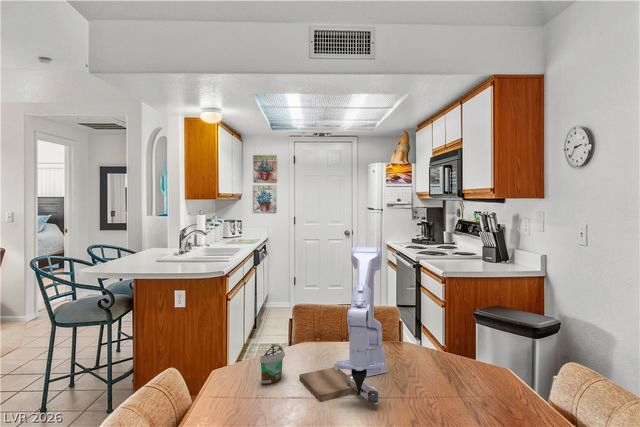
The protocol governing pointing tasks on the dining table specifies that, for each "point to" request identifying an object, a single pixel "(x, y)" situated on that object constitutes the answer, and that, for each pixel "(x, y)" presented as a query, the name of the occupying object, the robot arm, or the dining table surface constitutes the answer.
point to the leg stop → (374, 390)
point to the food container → (272, 365)
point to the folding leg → (363, 390)
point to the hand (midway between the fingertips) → (359, 393)
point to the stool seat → (327, 384)
